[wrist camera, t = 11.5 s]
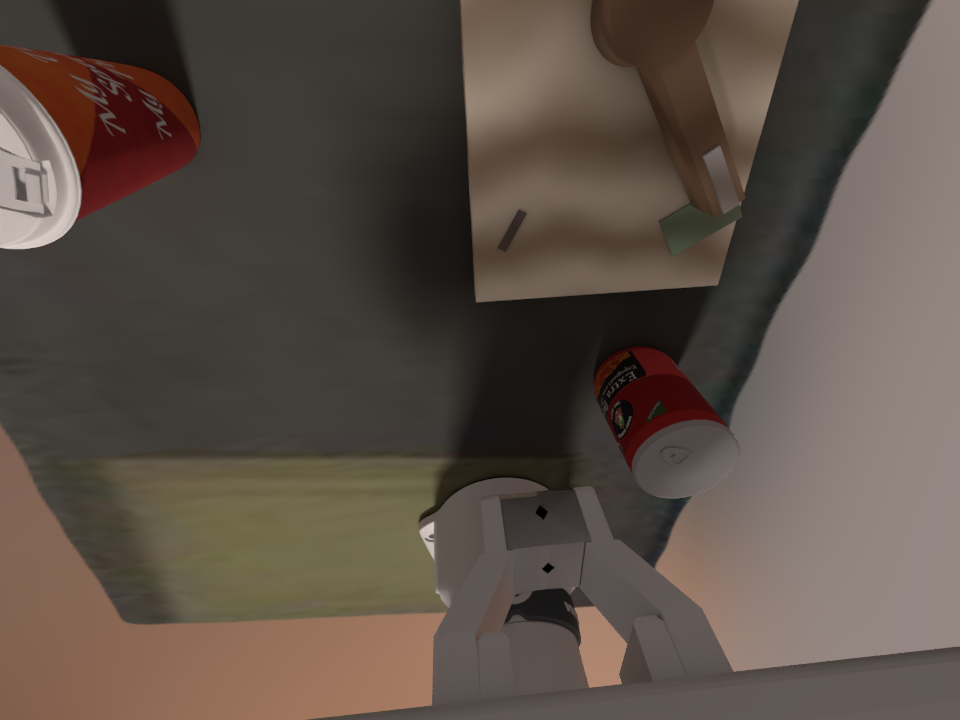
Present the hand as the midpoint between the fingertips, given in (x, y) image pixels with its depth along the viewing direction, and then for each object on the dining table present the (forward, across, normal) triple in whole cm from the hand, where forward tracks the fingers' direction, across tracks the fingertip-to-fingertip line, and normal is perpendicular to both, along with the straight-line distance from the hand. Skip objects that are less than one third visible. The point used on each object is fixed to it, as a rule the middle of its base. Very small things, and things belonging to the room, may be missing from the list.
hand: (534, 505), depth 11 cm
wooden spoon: (+22, -12, -9) cm, 26 cm away
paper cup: (+24, +20, -9) cm, 33 cm away
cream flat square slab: (+24, -9, -6) cm, 27 cm away
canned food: (+25, -14, +14) cm, 32 cm away
